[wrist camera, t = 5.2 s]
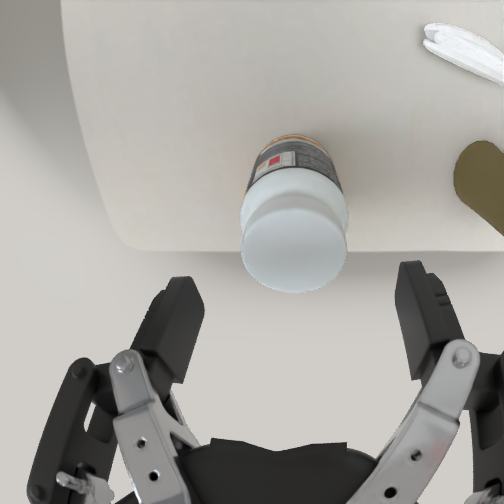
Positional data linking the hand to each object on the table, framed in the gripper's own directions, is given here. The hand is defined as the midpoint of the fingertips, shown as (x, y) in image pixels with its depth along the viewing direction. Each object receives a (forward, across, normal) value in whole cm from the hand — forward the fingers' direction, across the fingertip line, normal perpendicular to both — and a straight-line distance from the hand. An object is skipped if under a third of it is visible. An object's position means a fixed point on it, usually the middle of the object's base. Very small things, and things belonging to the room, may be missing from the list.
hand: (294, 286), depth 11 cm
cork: (+12, -16, +1) cm, 20 cm away
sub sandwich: (+12, -14, -9) cm, 20 cm away
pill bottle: (+12, 0, 0) cm, 12 cm away
